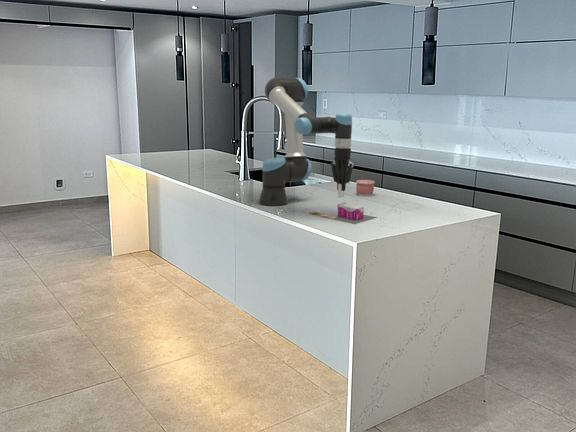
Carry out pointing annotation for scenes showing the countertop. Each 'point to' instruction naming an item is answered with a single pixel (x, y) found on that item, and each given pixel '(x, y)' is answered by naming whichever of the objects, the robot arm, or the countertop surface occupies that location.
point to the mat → (365, 218)
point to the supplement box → (350, 211)
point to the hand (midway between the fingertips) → (340, 197)
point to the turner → (322, 215)
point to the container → (365, 187)
